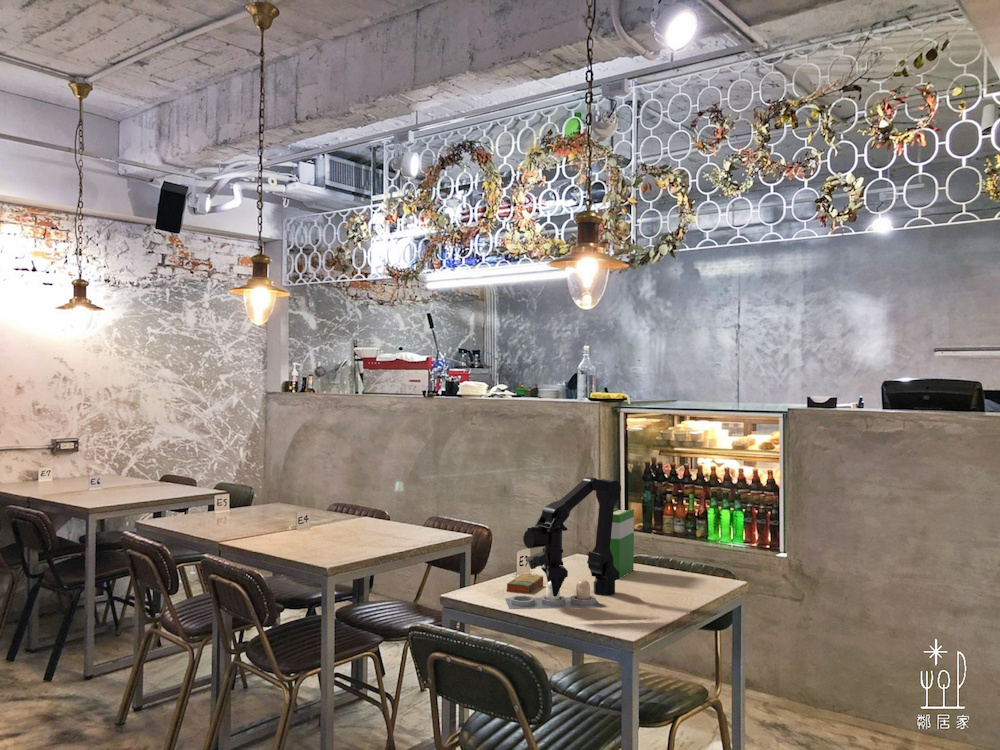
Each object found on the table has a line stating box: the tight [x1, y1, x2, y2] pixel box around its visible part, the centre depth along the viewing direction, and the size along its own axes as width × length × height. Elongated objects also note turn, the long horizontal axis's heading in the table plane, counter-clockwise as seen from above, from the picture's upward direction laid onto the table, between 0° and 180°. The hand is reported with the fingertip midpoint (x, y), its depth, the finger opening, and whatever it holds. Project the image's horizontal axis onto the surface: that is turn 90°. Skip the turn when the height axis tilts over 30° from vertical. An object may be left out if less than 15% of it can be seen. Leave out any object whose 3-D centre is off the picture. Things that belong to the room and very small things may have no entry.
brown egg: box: [575, 579, 591, 600], centre depth 254 cm, size 4×4×7 cm
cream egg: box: [545, 581, 561, 600], centre depth 253 cm, size 4×4×7 cm
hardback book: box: [610, 507, 635, 580], centre depth 301 cm, size 18×7×24 cm, turn 153°
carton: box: [506, 573, 544, 595], centre depth 274 cm, size 8×16×4 cm, turn 159°
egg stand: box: [504, 594, 603, 610], centre depth 253 cm, size 30×13×2 cm, turn 96°
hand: (552, 593), depth 253 cm, fingers open, 7 cm apart
